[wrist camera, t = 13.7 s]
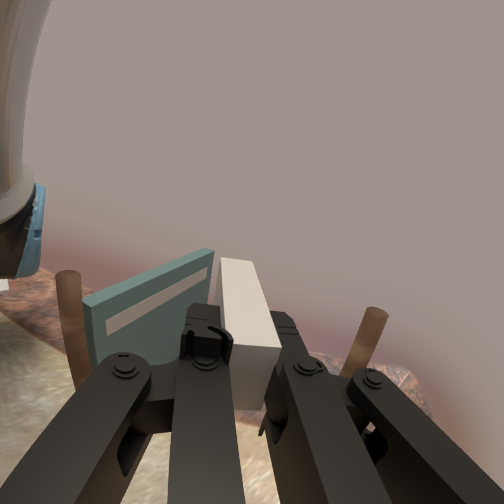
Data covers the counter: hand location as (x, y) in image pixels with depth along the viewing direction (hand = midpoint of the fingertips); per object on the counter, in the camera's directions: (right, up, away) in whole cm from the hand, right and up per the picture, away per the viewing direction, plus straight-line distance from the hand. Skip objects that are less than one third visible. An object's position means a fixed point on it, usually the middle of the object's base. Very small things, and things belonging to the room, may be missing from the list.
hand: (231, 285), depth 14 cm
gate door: (-11, -13, +19) cm, 26 cm away
